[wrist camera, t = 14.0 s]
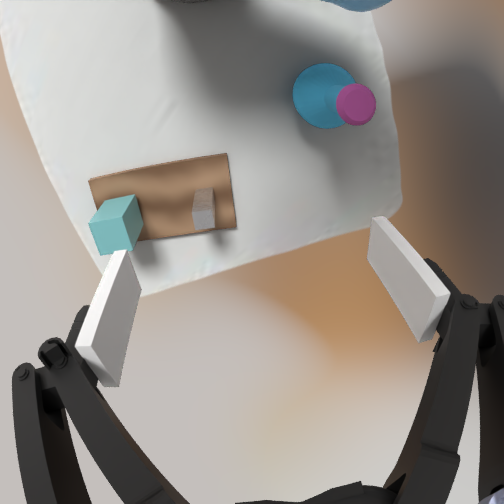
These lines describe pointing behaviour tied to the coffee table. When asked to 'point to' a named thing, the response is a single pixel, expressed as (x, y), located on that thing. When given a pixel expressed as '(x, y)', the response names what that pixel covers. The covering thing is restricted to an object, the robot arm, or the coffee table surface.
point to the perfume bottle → (332, 97)
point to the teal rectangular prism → (116, 225)
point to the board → (171, 194)
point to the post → (204, 209)
